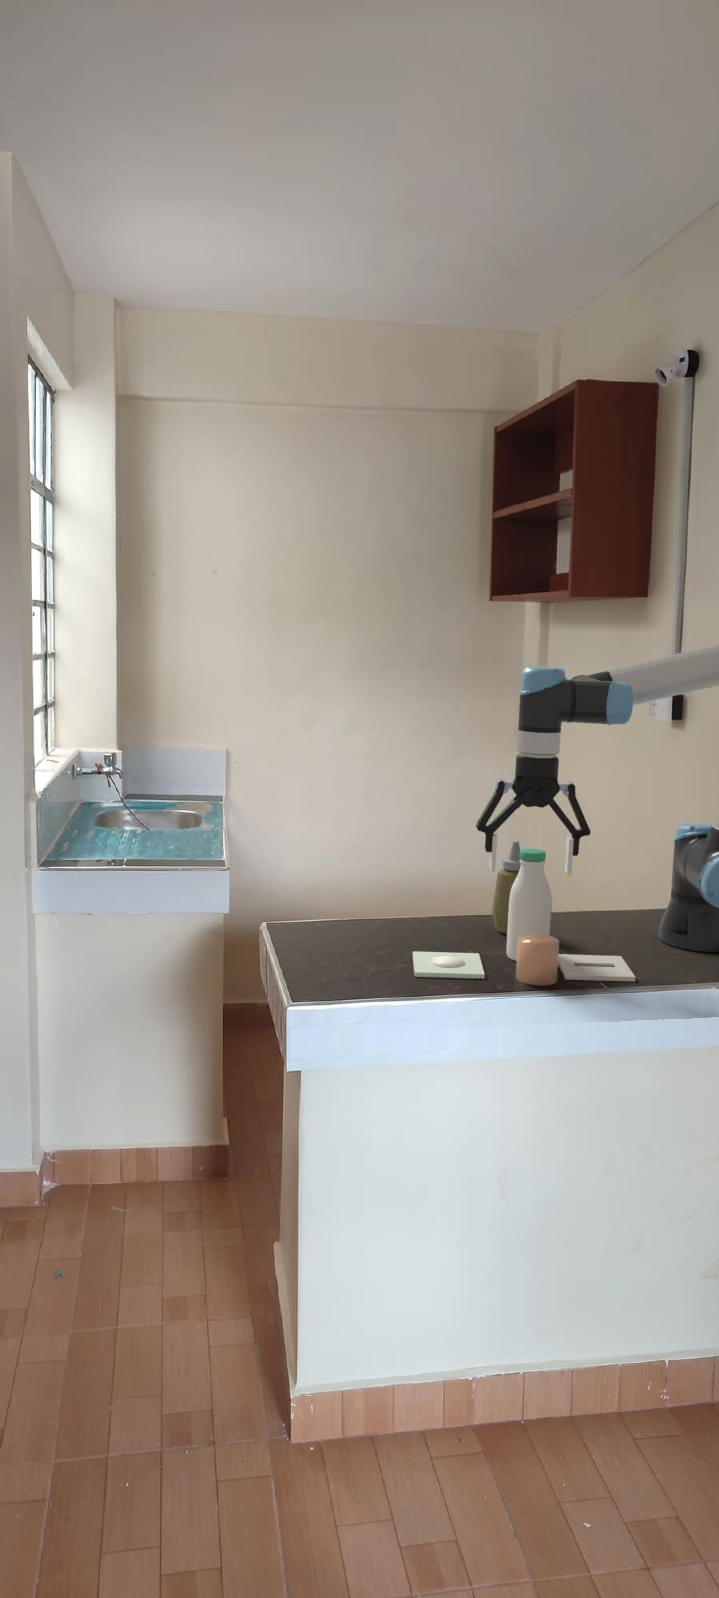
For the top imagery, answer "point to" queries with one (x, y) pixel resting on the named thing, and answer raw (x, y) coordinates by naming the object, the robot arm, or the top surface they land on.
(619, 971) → the tile
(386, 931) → the top surface
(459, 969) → the tile
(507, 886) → the squeeze bottle
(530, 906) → the milk bottle
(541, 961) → the rounded peach cylinder
